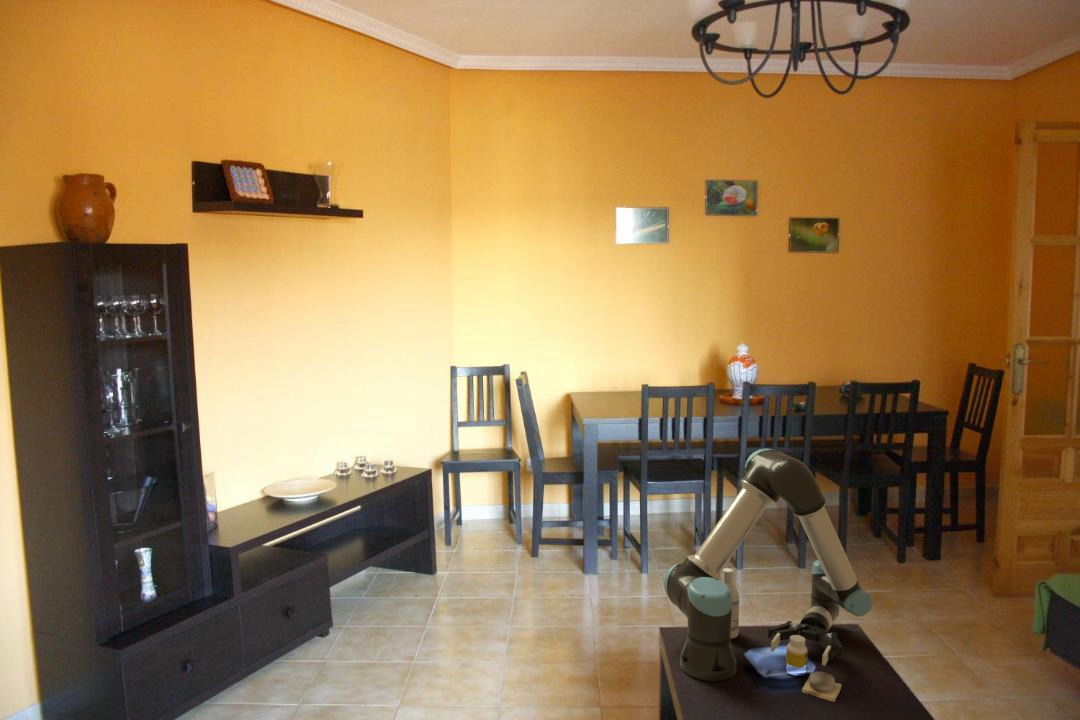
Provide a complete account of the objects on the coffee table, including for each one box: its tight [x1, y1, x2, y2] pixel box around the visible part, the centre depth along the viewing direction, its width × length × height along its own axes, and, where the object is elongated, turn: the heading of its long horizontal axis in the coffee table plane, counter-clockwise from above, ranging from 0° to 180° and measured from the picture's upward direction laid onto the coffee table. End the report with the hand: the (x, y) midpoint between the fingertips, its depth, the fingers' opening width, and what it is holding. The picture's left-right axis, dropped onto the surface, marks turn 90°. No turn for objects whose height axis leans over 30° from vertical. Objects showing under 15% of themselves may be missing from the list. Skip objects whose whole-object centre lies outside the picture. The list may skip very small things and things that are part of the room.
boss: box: [801, 671, 842, 703], centre depth 199 cm, size 8×8×4 cm
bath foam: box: [721, 567, 740, 640], centre depth 229 cm, size 7×7×20 cm
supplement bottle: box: [785, 634, 808, 668], centre depth 208 cm, size 5×5×10 cm
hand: (797, 653), depth 207 cm, fingers open, 13 cm apart
